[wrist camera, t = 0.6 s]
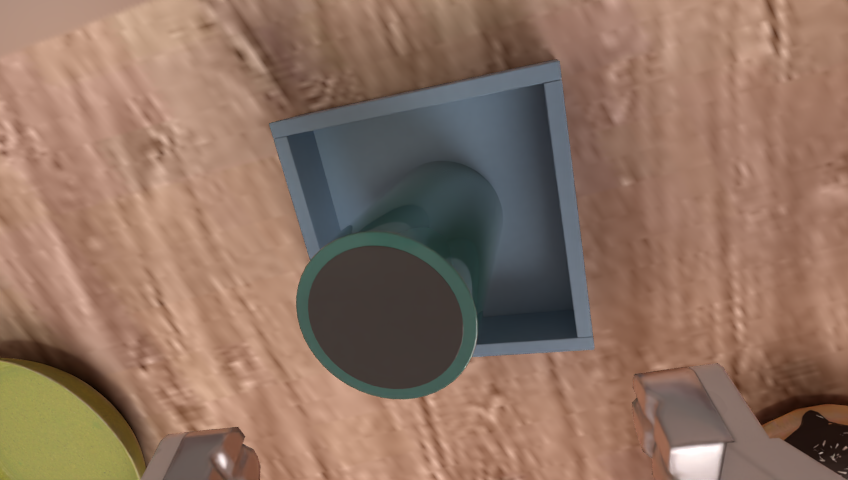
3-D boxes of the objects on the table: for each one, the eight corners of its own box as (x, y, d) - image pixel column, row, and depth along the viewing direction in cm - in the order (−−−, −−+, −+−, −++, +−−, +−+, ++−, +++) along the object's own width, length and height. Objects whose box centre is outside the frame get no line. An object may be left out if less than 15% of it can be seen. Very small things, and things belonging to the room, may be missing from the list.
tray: (300, 115, 29) (268, 123, 26) (557, 58, 25) (559, 60, 22) (362, 333, 34) (341, 365, 30) (588, 315, 30) (594, 350, 26)
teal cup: (426, 135, 27) (349, 192, 17) (528, 206, 28) (517, 309, 17) (367, 229, 30) (267, 331, 19) (459, 293, 30) (412, 430, 19)
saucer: (111, 558, 50) (84, 589, 47) (-58, 423, 48) (-97, 448, 45) (210, 457, 41) (184, 489, 38) (9, 291, 40) (-34, 310, 37)
